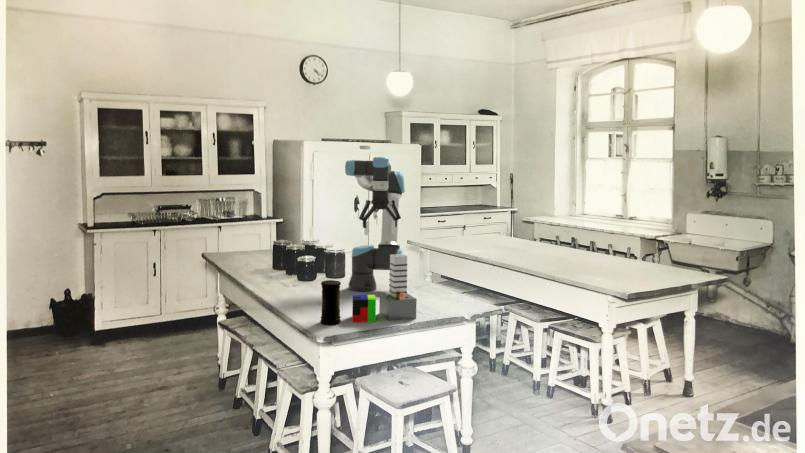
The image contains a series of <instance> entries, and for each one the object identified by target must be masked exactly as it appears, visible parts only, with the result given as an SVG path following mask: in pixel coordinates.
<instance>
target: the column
mask: <svg viewBox="0 0 805 453" xmlns="http://www.w3.org/2000/svg"><path fill="white" fill-rule="evenodd" d="M389 264H390V268H389V270H388V271H389V273H388V276H389V279H388V280H389V284H388V285H389V289H388V292H389V293H388V294H389V297H391V298H392V299H398V295H400V292H404V295H405V296H406V298H407V295H406V294H407V293H408V290H407V289H408V286H407V283H408V255H406V254H404V253H402V254H390V263H389Z"/></svg>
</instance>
